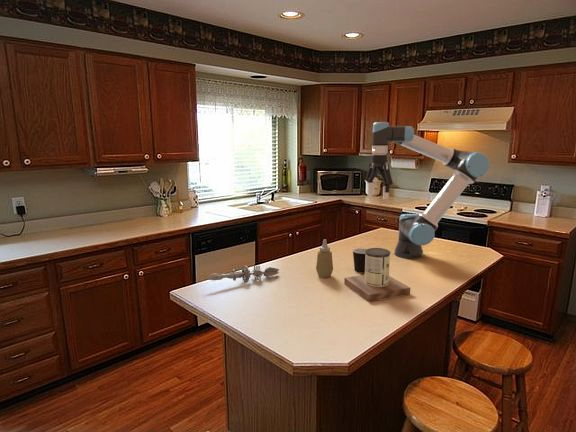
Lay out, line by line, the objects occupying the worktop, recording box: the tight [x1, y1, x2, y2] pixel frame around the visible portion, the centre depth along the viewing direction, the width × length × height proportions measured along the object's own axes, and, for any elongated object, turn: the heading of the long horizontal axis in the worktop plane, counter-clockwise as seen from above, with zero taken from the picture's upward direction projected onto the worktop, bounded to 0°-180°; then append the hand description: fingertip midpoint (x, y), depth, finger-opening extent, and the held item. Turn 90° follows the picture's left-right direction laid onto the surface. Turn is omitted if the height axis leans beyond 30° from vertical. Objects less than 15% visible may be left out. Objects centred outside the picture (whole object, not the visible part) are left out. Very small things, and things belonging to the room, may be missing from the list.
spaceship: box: [206, 265, 280, 284], centre depth 171 cm, size 8×35×8 cm
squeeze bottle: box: [315, 239, 334, 279], centre depth 177 cm, size 8×8×18 cm
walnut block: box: [343, 274, 411, 303], centre depth 163 cm, size 20×20×3 cm
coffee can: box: [364, 247, 391, 287], centre depth 161 cm, size 10×10×14 cm
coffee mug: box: [352, 247, 367, 274], centre depth 184 cm, size 12×9×10 cm
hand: (377, 197), depth 190 cm, fingers open, 13 cm apart
